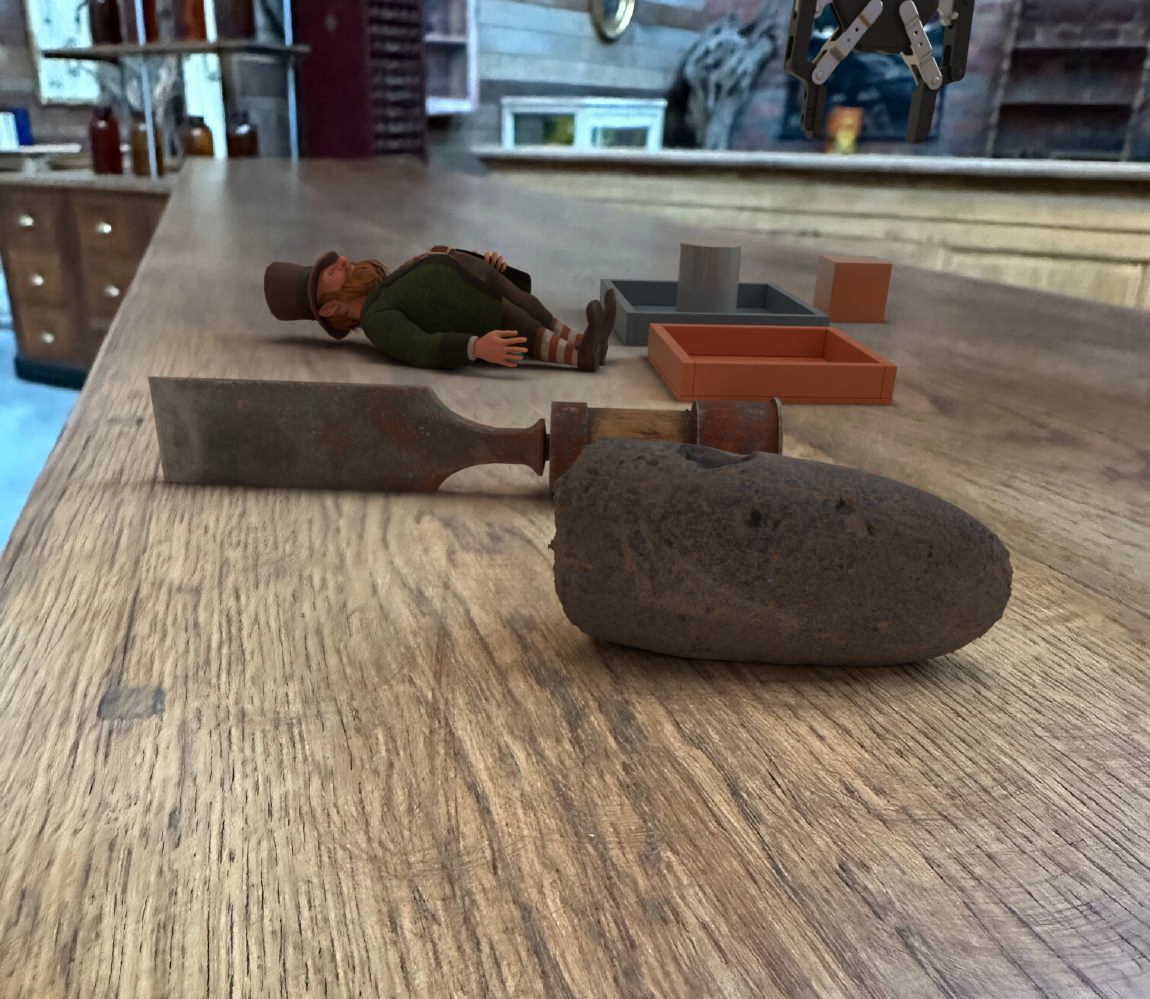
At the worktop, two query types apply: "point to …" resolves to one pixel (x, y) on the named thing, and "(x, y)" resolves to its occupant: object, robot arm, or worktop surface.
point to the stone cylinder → (708, 276)
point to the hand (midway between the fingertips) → (863, 141)
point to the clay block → (852, 288)
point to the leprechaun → (438, 309)
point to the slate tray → (658, 302)
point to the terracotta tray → (768, 364)
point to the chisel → (402, 433)
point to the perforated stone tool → (768, 558)
